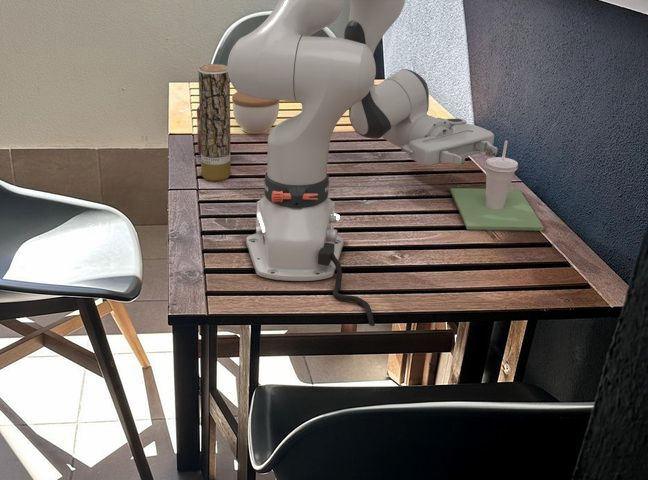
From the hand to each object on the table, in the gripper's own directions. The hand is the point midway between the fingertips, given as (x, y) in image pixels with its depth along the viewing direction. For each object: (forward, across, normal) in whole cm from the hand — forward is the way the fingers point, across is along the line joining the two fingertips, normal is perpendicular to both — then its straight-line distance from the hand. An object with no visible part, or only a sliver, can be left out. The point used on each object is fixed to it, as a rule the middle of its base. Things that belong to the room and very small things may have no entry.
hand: (478, 156), depth 170 cm
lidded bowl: (-66, -13, +10) cm, 68 cm away
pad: (+6, 0, +10) cm, 12 cm away
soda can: (-55, -32, +10) cm, 65 cm away
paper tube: (-42, -40, +10) cm, 59 cm away
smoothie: (+6, 0, +9) cm, 11 cm away
